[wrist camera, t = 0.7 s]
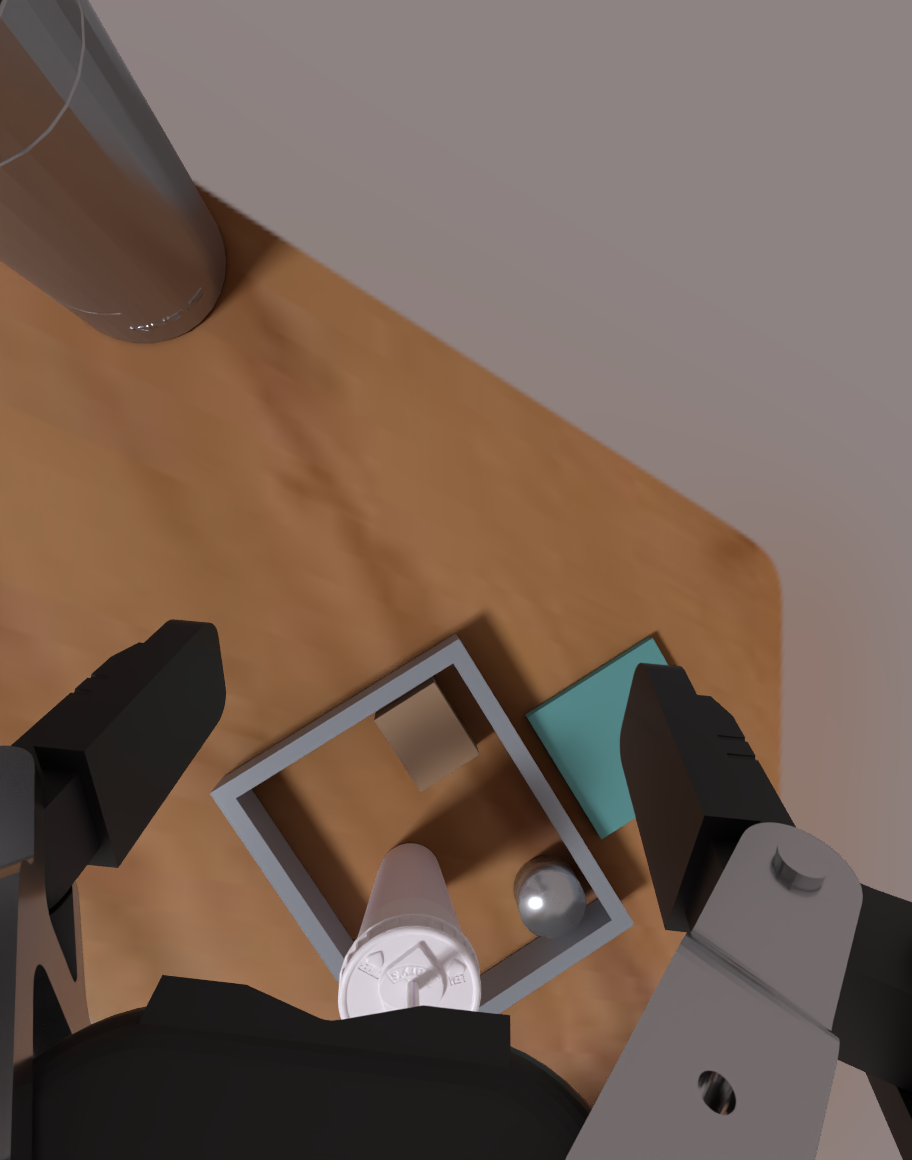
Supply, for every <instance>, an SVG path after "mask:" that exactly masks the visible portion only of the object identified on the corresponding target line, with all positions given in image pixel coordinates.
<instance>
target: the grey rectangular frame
mask: <svg viewBox="0 0 912 1160" xmlns="http://www.w3.org/2000/svg"><path fill="white" fill-rule="evenodd" d="M451 664H454V665H455V667H456V669H457V670H458V672H459V673H460V675H461V677H462V678H463V680H464V682H465V683H466V685H467V686H468V688H469V690H470V691H471V693H472V694H473V696H474V698H475V699H476V701H477V703H478V704H479V706H480V707H481V709H482V711H483V712H484V714H485V716H486V717H487V719H488V720H489V722H490V724H491V725H492V727H493V728H494V730H495V732H496V733H497V735H498V737H499V738H500V740H501V741H502V743H503V745H504V746H505V748H506V749H507V751H508V753H509V754H510V756H511V758H512V759H513V761H514V762H515V764H516V766H517V767H518V769H519V771H520V772H521V774H522V775H523V777H524V779H525V780H526V782H527V783H528V785H529V787H530V788H531V790H532V792H533V793H534V795H535V796H536V798H537V800H538V801H539V803H540V805H541V806H542V808H543V809H544V811H545V813H546V814H547V816H548V817H549V819H550V821H551V822H552V824H553V826H554V827H555V829H556V830H557V832H558V834H559V835H560V837H561V839H562V840H563V842H564V843H565V845H566V847H567V848H568V850H569V851H570V853H571V855H572V856H573V858H574V860H575V861H576V863H577V864H578V866H579V868H580V869H581V871H582V873H583V874H584V876H585V877H586V879H587V881H588V882H589V884H590V885H591V887H592V889H593V890H594V892H595V894H596V895H597V897H598V899H596V900H595V901H593V902H592V903H590V904H589V905H587V906H586V909H585V913H584V916H583V918H582V920H581V922H580V923H579V924H578V926H577V927H576V928H575V929H574V930H572V931H571V932H570V933H568V934H566V935H564V936H561V937H558V938H544V937H538V938H537V939H535V940H534V941H532V942H531V943H529V944H528V945H526V946H525V947H523V948H522V949H520V950H519V951H517V952H515V953H514V954H512V955H511V956H509V957H508V958H506V959H505V960H503V961H502V962H500V963H499V964H497V965H496V966H494V967H493V968H491V969H489V970H488V971H486V972H485V973H483V974H482V975H480V981H481V999H480V1005H479V1009H478V1012H485V1013H494V1014H499V1013H501V1012H502V1011H504V1010H505V1009H507V1008H509V1007H510V1006H512V1005H513V1004H515V1003H516V1002H518V1001H519V1000H521V999H522V998H524V997H525V996H527V995H528V994H530V993H531V992H533V991H534V990H536V989H537V988H539V987H540V986H542V985H543V984H545V983H546V982H548V981H549V980H551V979H552V978H554V977H555V976H557V975H559V974H560V973H562V972H563V971H565V970H566V969H568V968H569V967H571V966H572V965H574V964H575V963H577V962H578V961H580V960H581V959H583V958H584V957H586V956H587V955H589V954H590V953H592V952H593V951H595V950H596V949H598V948H599V947H601V946H602V945H604V944H606V943H607V942H609V941H610V940H612V939H613V938H615V937H616V936H618V935H619V934H621V933H622V932H624V931H625V930H627V929H628V928H630V927H631V926H633V925H634V923H633V921H632V919H631V918H630V916H629V915H628V913H627V911H626V910H625V908H624V906H623V905H622V903H621V901H620V900H619V898H618V897H617V895H616V893H615V892H614V890H613V888H612V887H611V885H610V884H609V882H608V880H607V879H606V877H605V875H604V874H603V872H602V871H601V869H600V867H599V866H598V864H597V862H596V861H595V859H594V858H593V856H592V854H591V853H590V851H589V849H588V848H587V846H586V844H585V843H584V841H583V840H582V838H581V836H580V835H579V833H578V831H577V830H576V828H575V827H574V825H573V823H572V822H571V820H570V818H569V817H568V815H567V814H566V812H565V810H564V809H563V807H562V805H561V804H560V802H559V801H558V799H557V797H556V796H555V794H554V792H553V791H552V789H551V787H550V786H549V784H548V783H547V781H546V779H545V778H544V776H543V774H542V773H541V771H540V770H539V768H538V766H537V765H536V763H535V761H534V760H533V758H532V757H531V755H530V753H529V752H528V750H527V748H526V747H525V745H524V744H523V742H522V740H521V739H520V737H519V735H518V734H517V732H516V730H515V729H514V727H513V726H512V724H511V722H510V721H509V719H508V717H507V716H506V714H505V713H504V711H503V709H502V708H501V706H500V704H499V703H498V701H497V700H496V698H495V696H494V695H493V693H492V691H491V690H490V688H489V687H488V685H487V683H486V682H485V680H484V678H483V677H482V675H481V673H480V672H479V670H478V669H477V667H476V665H475V664H474V662H473V660H472V659H471V657H470V656H469V654H468V652H467V651H466V649H465V647H464V646H463V644H462V643H461V641H460V639H459V638H458V636H457V634H456V633H455V634H454V635H452V636H450V637H449V638H447V639H446V640H444V641H442V642H441V643H439V644H438V645H436V646H434V647H433V648H431V649H429V650H428V651H426V652H425V653H423V654H421V655H420V656H418V657H417V658H415V659H413V660H412V661H410V662H408V663H407V664H405V665H404V666H402V667H400V668H399V669H397V670H396V671H394V672H392V673H391V674H389V675H388V676H386V677H384V678H383V679H381V680H379V681H378V682H376V683H375V684H373V685H371V686H370V687H368V688H367V689H365V690H363V691H362V692H360V693H358V694H357V695H355V696H354V697H352V698H350V699H349V700H347V701H346V702H344V703H342V704H341V705H339V706H337V707H336V708H334V709H333V710H331V711H329V712H328V713H326V714H325V715H323V716H321V717H320V718H318V719H316V720H315V721H313V722H312V723H310V724H308V725H307V726H305V727H304V728H302V729H300V730H299V731H297V732H295V733H294V734H292V735H291V736H289V737H287V738H286V739H284V740H283V741H281V742H279V743H278V744H276V745H274V746H273V747H271V748H270V749H268V750H266V751H265V752H263V753H262V754H260V755H258V756H257V757H255V758H253V759H252V760H250V761H249V762H247V763H245V764H244V765H242V766H241V767H239V768H237V769H236V770H234V771H232V772H231V773H229V774H228V775H226V776H224V777H223V778H222V779H221V780H220V781H219V783H218V784H217V785H216V786H215V788H214V789H213V790H212V791H211V793H210V795H211V796H212V797H213V799H214V800H215V802H216V803H217V805H218V806H219V808H220V809H221V811H222V812H223V814H224V815H225V817H226V818H227V820H228V821H229V823H230V824H231V825H232V827H233V828H234V830H235V831H236V833H237V834H238V836H239V837H240V839H241V840H242V842H243V843H244V845H245V846H246V848H247V849H248V851H249V852H250V854H251V855H252V856H253V858H254V859H255V861H256V862H257V864H258V865H259V867H260V868H261V870H262V871H263V873H264V874H265V876H266V877H267V879H268V880H269V882H270V883H271V884H272V886H273V887H274V889H275V890H276V892H277V893H278V895H279V896H280V898H281V899H282V901H283V902H284V904H285V905H286V907H287V908H288V910H289V911H290V913H291V914H292V915H293V917H294V918H295V920H296V921H297V923H298V924H299V926H300V927H301V929H302V930H303V932H304V933H305V935H306V936H307V938H308V939H309V941H310V942H311V943H312V945H313V946H314V948H315V949H316V951H317V952H318V954H319V955H320V957H321V958H322V960H323V961H324V963H325V964H326V966H327V967H328V969H329V970H330V972H331V973H332V974H333V976H334V977H335V979H336V980H337V982H338V983H339V976H340V971H341V968H342V965H343V962H344V958H345V956H346V954H347V953H348V951H349V949H350V948H351V946H352V945H353V943H354V941H353V940H352V938H351V937H350V935H349V934H348V932H347V931H346V930H345V928H344V927H343V925H342V924H341V922H340V921H339V919H338V918H337V916H336V915H335V913H334V912H333V910H332V909H331V907H330V906H329V904H328V903H327V901H326V900H325V898H324V897H323V895H322V894H321V892H320V891H319V889H318V888H317V886H316V885H315V883H314V882H313V880H312V879H311V877H310V876H309V874H308V873H307V871H306V870H305V868H304V867H303V865H302V864H301V862H300V861H299V859H298V858H297V856H296V855H295V853H294V852H293V850H292V849H291V847H290V846H289V844H288V843H287V841H286V840H285V838H284V837H283V835H282V834H281V832H280V831H279V829H278V828H277V826H276V825H275V823H274V822H273V821H272V819H271V818H270V816H269V815H268V813H267V812H266V810H265V809H264V807H263V806H262V804H261V803H260V801H259V800H258V798H257V797H256V795H255V794H254V792H253V791H252V788H253V787H255V786H257V785H258V784H260V783H261V782H263V781H265V780H266V779H268V778H270V777H271V776H273V775H274V774H276V773H278V772H279V771H281V770H282V769H284V768H286V767H287V766H289V765H290V764H292V763H294V762H295V761H297V760H298V759H300V758H302V757H303V756H305V755H307V754H308V753H310V752H311V751H313V750H315V749H316V748H318V747H319V746H321V745H323V744H324V743H326V742H327V741H329V740H331V739H332V738H334V737H335V736H337V735H339V734H340V733H342V732H343V731H345V730H347V729H348V728H350V727H352V726H353V725H355V724H356V723H358V722H360V721H361V720H363V719H364V718H366V717H368V716H369V715H371V714H372V713H374V712H376V711H377V710H379V709H380V708H382V707H384V706H385V705H387V704H388V703H390V702H392V701H393V700H395V699H397V698H398V697H400V696H401V695H403V694H405V693H406V692H408V691H409V690H411V689H413V688H414V687H416V686H417V685H419V684H421V683H422V682H424V681H425V680H427V679H429V678H430V677H432V676H434V675H435V674H437V673H438V672H440V671H442V670H443V669H445V668H446V667H448V666H450V665H451Z"/></svg>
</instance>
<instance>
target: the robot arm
mask: <svg viewBox="0 0 912 1160" xmlns="http://www.w3.org/2000/svg"><path fill="white" fill-rule="evenodd" d="M0 261H2V262H3V263H4V264H6V265H7V266H9V267H10V268H11V269H13V270H14V271H16V272H17V273H18V274H20V275H21V276H23V277H24V278H25V279H27V280H28V281H30V282H31V283H32V284H34V285H35V286H36V287H38V288H39V289H41V290H42V291H43V292H45V293H46V294H47V295H49V296H50V297H51V298H53V299H54V300H56V301H57V302H59V303H60V304H61V305H63V306H64V307H66V308H67V309H68V310H70V311H71V312H73V313H74V314H76V315H77V316H78V317H80V318H81V319H83V320H84V321H86V322H87V323H88V324H90V325H91V326H93V327H94V328H95V329H97V330H98V331H100V332H102V333H104V334H107V335H109V336H111V337H114V338H116V339H120V340H124V341H129V342H133V343H156V342H161V341H166V340H171V339H173V338H175V337H178V336H180V335H182V334H184V333H187V332H188V331H189V330H191V329H192V328H194V327H195V326H196V325H198V324H199V323H200V322H201V321H202V320H203V319H204V318H205V317H206V316H207V315H208V313H209V312H210V311H211V310H212V309H213V307H214V305H215V303H216V301H217V299H218V297H219V296H220V294H221V290H222V286H223V283H224V279H225V271H226V255H225V248H224V242H223V239H222V236H221V234H220V231H219V228H218V226H217V223H216V222H215V220H214V218H213V217H212V215H211V213H210V211H209V210H208V208H207V206H206V204H205V203H204V201H203V199H202V197H201V196H200V194H199V192H198V190H197V189H196V187H195V185H194V183H193V182H192V180H191V178H190V176H189V174H188V172H187V171H186V169H185V167H184V165H183V164H182V162H181V160H180V158H179V157H178V155H177V153H176V151H175V150H174V148H173V146H172V145H171V143H170V141H169V139H168V138H167V136H166V134H165V132H164V131H163V129H162V127H161V125H160V124H159V122H158V120H157V118H156V117H155V115H154V113H153V112H152V110H151V108H150V106H149V105H148V103H147V101H146V99H145V98H144V96H143V94H142V93H141V91H140V89H139V87H138V86H137V84H136V82H135V80H134V79H133V77H132V75H131V73H130V72H129V70H128V68H127V66H126V65H125V63H124V61H123V60H122V58H121V56H120V54H119V53H118V51H117V49H116V47H115V46H114V44H113V42H112V40H111V39H110V37H109V35H108V33H107V32H106V30H105V28H104V27H103V25H102V23H101V21H100V20H99V18H98V16H97V14H96V13H95V11H94V9H93V8H92V6H91V4H90V2H89V1H88V0H0ZM91 675H92V676H91V678H87V679H86V680H84V681H83V682H82V683H81V684H80V685H79V686H78V687H77V688H75V692H74V693H70V694H69V695H68V696H66V697H65V698H64V699H63V700H62V701H61V702H60V703H58V704H57V705H56V706H55V707H54V708H53V709H52V710H51V711H49V712H48V713H47V714H46V715H45V716H44V717H43V718H42V719H40V720H39V721H38V722H37V723H36V724H35V725H34V726H33V727H31V728H30V729H29V730H28V731H27V732H26V733H25V734H24V735H22V736H21V737H20V738H19V739H18V740H17V741H16V742H15V743H13V744H12V745H11V746H0V1160H815V1157H816V1153H817V1148H818V1144H819V1139H820V1135H821V1131H822V1126H823V1122H824V1117H825V1113H826V1109H827V1104H828V1100H829V1095H830V1091H831V1086H832V1082H833V1078H834V1073H835V1069H836V1064H837V1059H838V1060H840V1061H842V1062H844V1063H846V1064H849V1065H851V1066H853V1067H855V1068H858V1069H860V1070H862V1071H864V1072H866V1075H867V1077H868V1079H869V1082H870V1084H871V1086H872V1089H873V1091H874V1093H875V1096H876V1098H877V1100H878V1103H879V1105H880V1107H881V1109H882V1112H883V1114H884V1117H885V1119H886V1121H887V1124H888V1126H889V1128H890V1130H891V1133H892V1135H893V1138H894V1140H895V1142H896V1144H897V1147H898V1149H899V1152H900V1154H901V1156H902V1159H903V1160H912V902H909V901H906V900H904V899H901V898H898V897H895V896H892V895H889V894H887V893H884V892H881V891H878V890H875V889H873V888H870V887H868V886H865V885H863V884H861V883H860V882H859V880H858V878H857V876H856V874H855V873H854V871H853V869H852V868H851V867H850V866H849V865H848V863H847V862H846V861H845V860H844V859H843V858H842V857H841V856H840V855H839V854H838V853H837V852H836V851H835V850H833V848H831V847H830V846H829V845H827V844H826V843H825V842H823V841H822V840H820V839H818V838H816V837H815V836H813V835H812V834H810V833H807V832H805V831H803V830H801V829H798V828H796V826H795V825H794V823H793V821H792V820H791V818H790V816H789V814H788V813H787V811H786V809H785V807H784V805H783V804H782V802H781V800H780V798H779V797H778V795H777V793H776V791H775V789H774V788H773V786H772V784H771V782H770V781H769V779H768V777H767V775H766V774H765V772H764V770H763V768H762V767H761V765H760V763H759V761H758V760H755V754H754V752H753V751H752V749H751V747H750V745H749V744H748V742H745V737H744V735H743V733H742V731H741V730H740V728H739V726H738V724H737V723H736V721H735V719H734V717H733V716H732V715H731V714H730V713H729V712H728V711H727V710H725V709H724V708H723V707H722V706H721V705H720V704H719V703H718V702H716V701H715V700H714V699H713V698H712V697H711V696H702V695H697V694H696V692H695V690H694V688H693V686H692V684H691V682H690V680H689V678H688V676H687V674H686V672H685V670H684V669H683V668H682V667H681V666H672V665H661V664H650V663H639V664H638V665H637V667H636V669H635V672H634V675H633V680H632V684H631V688H630V692H629V697H628V701H627V705H626V710H625V714H624V718H623V722H622V727H621V733H620V758H621V763H622V767H623V771H624V775H625V779H626V783H627V786H628V790H629V794H630V798H631V802H632V805H633V809H634V813H635V817H636V821H637V824H638V828H639V832H640V836H641V840H642V843H643V847H644V851H645V855H646V859H647V862H648V866H649V870H650V874H651V878H652V881H653V885H654V889H655V893H656V897H657V900H658V904H659V908H660V912H661V916H662V919H663V923H664V927H665V930H672V931H681V932H687V933H686V935H685V936H684V938H683V939H682V941H681V943H680V945H679V947H678V948H677V950H676V952H675V954H674V956H673V958H672V960H671V962H670V963H669V965H668V967H667V969H666V971H665V973H664V975H663V977H662V978H661V980H660V982H659V984H658V986H657V988H656V990H655V992H654V993H653V995H652V997H651V999H650V1001H649V1003H648V1005H647V1007H646V1009H645V1010H644V1012H643V1014H642V1016H641V1018H640V1020H639V1022H638V1024H637V1025H636V1027H635V1029H634V1031H633V1033H632V1035H631V1037H630V1039H629V1040H628V1042H627V1044H626V1046H625V1048H624V1050H623V1052H622V1054H621V1056H620V1057H619V1059H618V1061H617V1063H616V1065H615V1067H614V1069H613V1071H612V1072H611V1074H610V1076H609V1078H608V1080H607V1082H606V1084H605V1086H604V1088H603V1089H602V1091H601V1093H600V1095H599V1097H598V1099H597V1101H596V1103H595V1104H594V1106H593V1108H591V1107H590V1105H589V1104H588V1103H587V1102H586V1101H585V1100H584V1099H583V1098H582V1097H581V1096H580V1095H579V1094H578V1093H577V1092H576V1091H575V1090H574V1089H573V1088H572V1087H571V1086H570V1085H569V1084H568V1083H567V1082H566V1081H565V1080H564V1079H562V1078H561V1077H560V1076H559V1075H557V1074H556V1073H555V1072H554V1071H552V1070H551V1069H550V1068H549V1067H547V1066H546V1065H544V1064H543V1063H541V1062H539V1061H538V1060H536V1059H534V1058H533V1057H531V1056H530V1055H528V1054H526V1053H524V1052H522V1051H520V1050H517V1049H515V1048H513V1047H511V1046H510V1015H502V1014H494V1013H485V1012H476V1011H468V1010H459V1009H451V1008H442V1007H433V1006H425V1005H422V1006H416V1007H411V1008H405V1009H399V1010H393V1011H388V1012H382V1013H376V1014H370V1015H365V1016H359V1017H353V1018H348V1019H342V1020H334V1021H329V1020H323V1019H320V1018H318V1017H316V1016H313V1015H311V1014H309V1013H307V1012H305V1011H302V1010H300V1009H298V1008H296V1007H294V1006H291V1005H289V1004H287V1003H285V1002H283V1001H281V1000H278V999H276V998H274V997H272V996H270V995H267V994H265V993H263V992H261V991H259V990H257V989H254V988H252V987H250V986H248V985H244V984H235V983H226V982H218V981H209V980H200V979H192V978H183V977H175V976H166V975H162V977H161V979H160V981H159V983H158V985H157V987H156V989H155V991H154V993H153V995H152V997H151V999H150V1001H149V1003H148V1005H147V1007H142V1008H137V1009H133V1010H130V1011H127V1012H123V1013H120V1014H116V1015H113V1016H111V1017H108V1018H106V1019H104V1020H101V1021H99V1022H96V1023H94V1024H91V1023H90V1019H89V1014H88V1008H87V1001H86V991H85V976H84V962H83V947H82V932H81V917H80V902H79V892H78V887H77V884H76V881H75V880H76V879H77V878H78V876H79V875H80V874H81V872H82V871H83V870H84V868H85V867H86V866H87V865H95V866H105V867H114V868H118V867H119V866H120V864H121V863H122V861H123V860H124V858H125V857H126V856H127V854H128V853H129V851H130V850H131V848H132V847H133V845H134V844H135V842H136V841H137V840H138V838H139V837H140V835H141V834H142V832H143V831H144V829H145V828H146V827H147V825H148V824H149V822H150V821H151V819H152V818H153V816H154V815H155V813H156V812H157V811H158V809H159V808H160V806H161V805H162V803H163V802H164V800H165V799H166V797H167V796H168V795H169V793H170V792H171V790H172V789H173V787H174V786H175V784H176V783H177V781H178V780H179V779H180V777H181V776H182V774H183V773H184V771H185V770H186V768H187V767H188V766H189V764H190V763H191V761H192V760H193V758H194V757H195V755H196V754H197V752H198V751H199V750H200V748H201V747H202V745H203V744H204V742H205V741H206V739H207V738H208V736H209V735H210V734H211V732H212V731H213V729H214V728H215V726H216V725H217V723H218V722H219V720H220V718H221V716H222V713H223V710H224V706H225V700H226V687H225V680H224V673H223V666H222V659H221V652H220V644H219V637H218V632H217V629H216V627H215V626H214V625H213V624H212V623H207V622H195V621H184V620H169V621H167V622H166V623H165V624H164V625H163V626H162V627H161V628H160V629H158V630H157V631H156V632H155V633H154V634H153V635H152V636H151V637H150V638H149V639H148V640H147V641H146V642H144V643H137V644H135V645H133V646H131V647H129V648H127V649H125V650H123V651H121V652H119V653H117V654H116V655H114V656H112V657H110V658H109V659H108V660H107V661H106V662H105V663H104V664H102V665H101V666H100V667H99V668H98V669H97V670H96V671H95V672H93V673H92V674H91ZM689 932H690V933H689Z"/></svg>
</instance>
